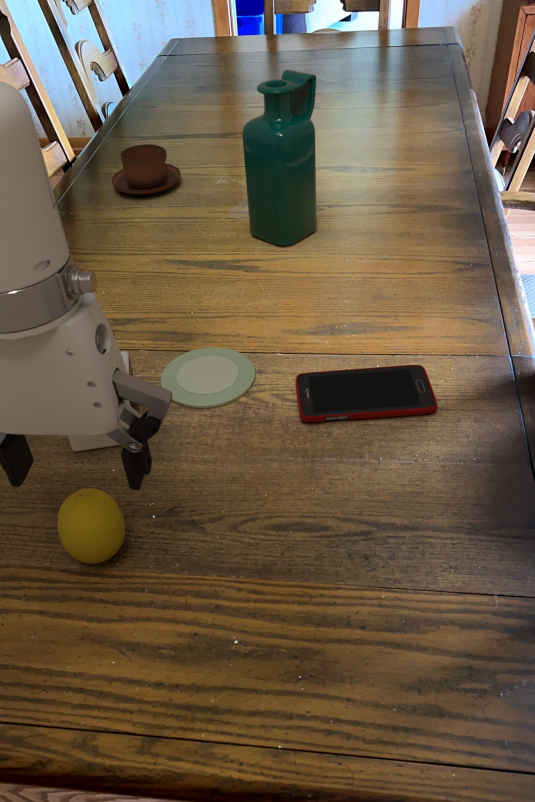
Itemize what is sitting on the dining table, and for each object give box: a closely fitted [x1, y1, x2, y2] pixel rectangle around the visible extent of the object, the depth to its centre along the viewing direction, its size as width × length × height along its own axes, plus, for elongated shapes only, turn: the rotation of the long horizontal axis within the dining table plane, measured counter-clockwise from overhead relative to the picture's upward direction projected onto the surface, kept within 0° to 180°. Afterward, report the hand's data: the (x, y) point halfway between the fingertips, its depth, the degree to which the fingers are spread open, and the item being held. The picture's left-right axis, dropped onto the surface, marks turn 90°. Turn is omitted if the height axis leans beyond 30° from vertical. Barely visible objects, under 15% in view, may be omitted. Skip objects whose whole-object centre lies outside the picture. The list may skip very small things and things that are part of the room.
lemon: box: [56, 488, 126, 565], centre depth 62 cm, size 6×6×8 cm
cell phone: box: [295, 364, 438, 423], centre depth 78 cm, size 8×15×1 cm, turn 93°
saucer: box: [159, 346, 256, 409], centre depth 83 cm, size 11×11×1 cm
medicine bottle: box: [67, 331, 140, 453], centre depth 74 cm, size 7×7×12 cm
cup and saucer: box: [111, 143, 181, 196], centre depth 124 cm, size 12×12×6 cm
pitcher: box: [241, 69, 317, 247], centre depth 103 cm, size 10×8×22 cm
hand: (81, 475), depth 57 cm, fingers open, 9 cm apart
